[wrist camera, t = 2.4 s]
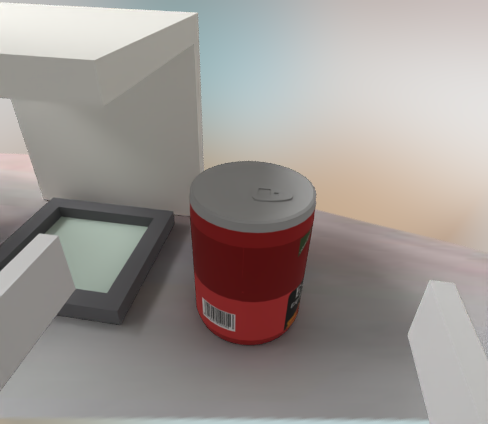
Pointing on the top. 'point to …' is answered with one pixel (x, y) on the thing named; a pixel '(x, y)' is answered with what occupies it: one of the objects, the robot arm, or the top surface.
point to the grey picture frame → (98, 251)
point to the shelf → (106, 101)
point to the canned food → (250, 248)
